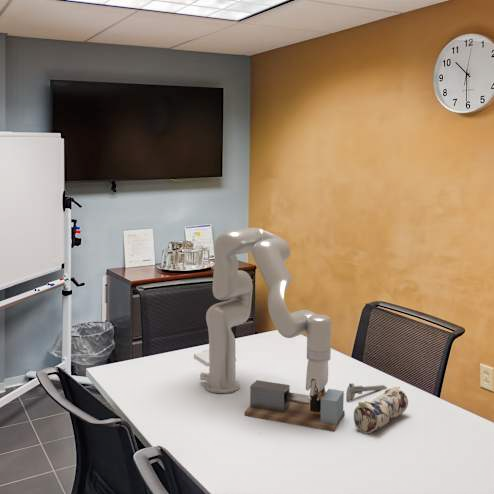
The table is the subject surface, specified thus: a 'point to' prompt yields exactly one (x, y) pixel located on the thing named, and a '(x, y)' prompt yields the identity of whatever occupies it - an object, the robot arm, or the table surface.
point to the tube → (302, 398)
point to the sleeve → (269, 396)
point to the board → (294, 416)
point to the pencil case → (380, 410)
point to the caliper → (360, 390)
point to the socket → (332, 406)
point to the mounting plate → (204, 357)
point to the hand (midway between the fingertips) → (317, 407)
